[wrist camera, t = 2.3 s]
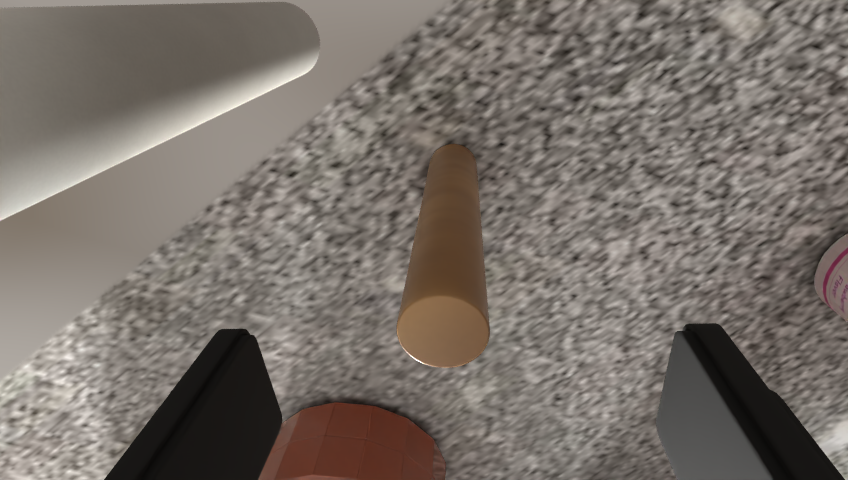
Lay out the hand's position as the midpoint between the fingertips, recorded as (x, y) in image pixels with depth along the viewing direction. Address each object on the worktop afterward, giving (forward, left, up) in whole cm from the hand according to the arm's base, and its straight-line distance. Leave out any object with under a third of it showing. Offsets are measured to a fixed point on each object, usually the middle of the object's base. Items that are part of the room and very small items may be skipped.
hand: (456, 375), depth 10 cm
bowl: (+4, -24, -14) cm, 28 cm away
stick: (0, 0, -14) cm, 14 cm away
